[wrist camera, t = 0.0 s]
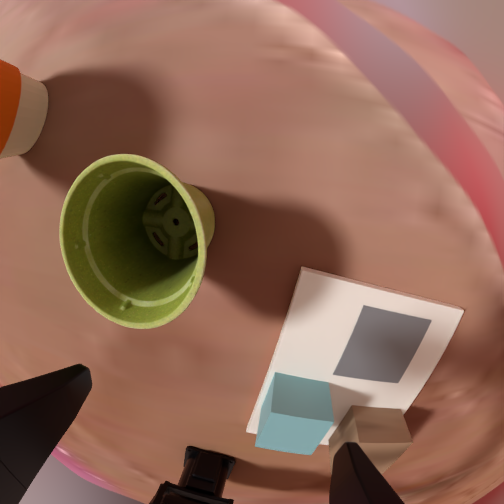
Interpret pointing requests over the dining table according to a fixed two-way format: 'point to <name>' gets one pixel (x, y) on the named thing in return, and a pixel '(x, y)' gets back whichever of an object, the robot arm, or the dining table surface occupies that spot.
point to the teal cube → (294, 414)
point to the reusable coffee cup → (20, 110)
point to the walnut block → (373, 434)
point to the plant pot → (135, 240)
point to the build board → (359, 342)
